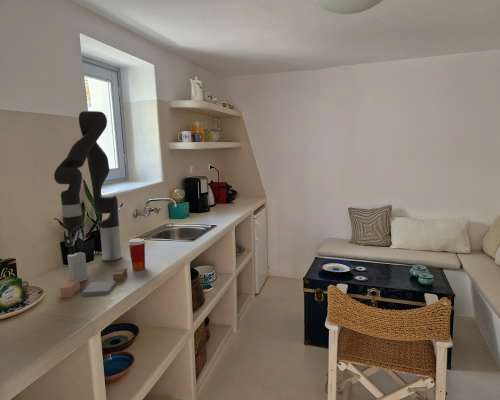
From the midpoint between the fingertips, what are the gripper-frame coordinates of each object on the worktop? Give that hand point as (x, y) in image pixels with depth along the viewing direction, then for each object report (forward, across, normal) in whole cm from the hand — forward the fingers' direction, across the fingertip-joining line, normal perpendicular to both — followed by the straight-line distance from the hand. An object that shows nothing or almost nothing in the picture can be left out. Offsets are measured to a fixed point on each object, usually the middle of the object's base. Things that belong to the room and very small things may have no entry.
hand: (76, 251), depth 147 cm
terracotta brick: (+14, +13, +2) cm, 19 cm away
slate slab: (+14, +12, +13) cm, 22 cm away
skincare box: (+13, 0, 0) cm, 13 cm away
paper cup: (+13, -11, +23) cm, 29 cm away
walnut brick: (+14, +1, +18) cm, 22 cm away
